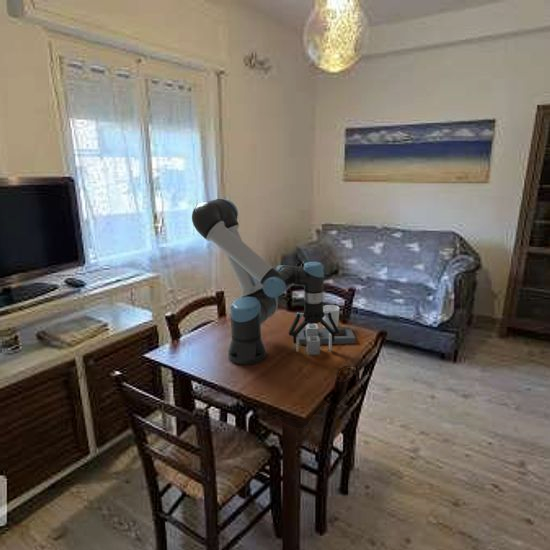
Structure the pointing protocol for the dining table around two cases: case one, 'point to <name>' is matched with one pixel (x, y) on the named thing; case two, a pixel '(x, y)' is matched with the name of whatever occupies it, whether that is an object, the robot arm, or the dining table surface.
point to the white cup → (334, 314)
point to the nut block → (313, 345)
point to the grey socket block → (326, 335)
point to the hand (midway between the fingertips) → (313, 349)
